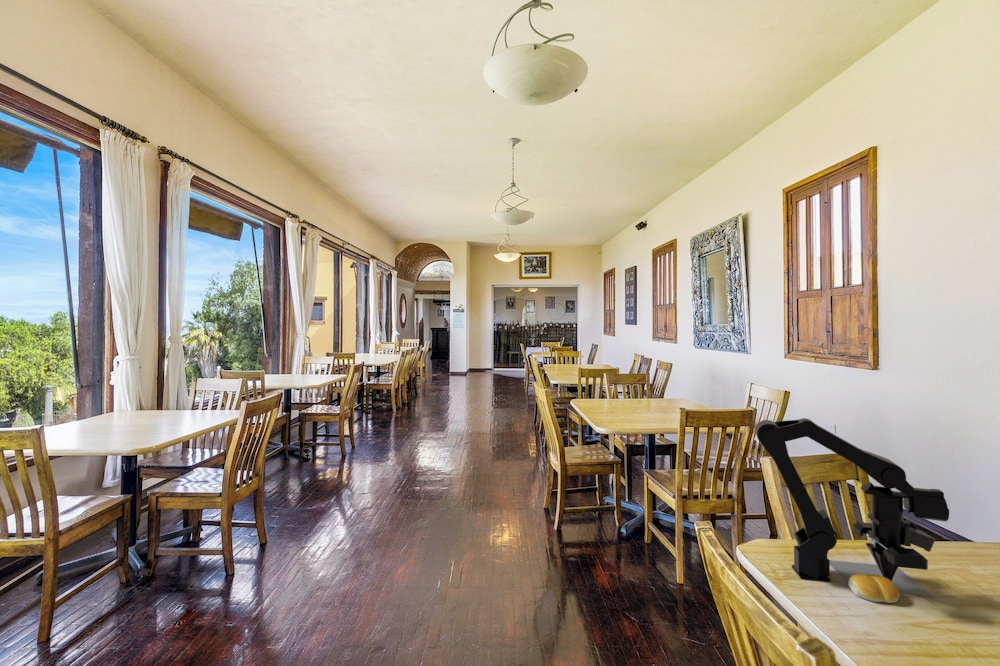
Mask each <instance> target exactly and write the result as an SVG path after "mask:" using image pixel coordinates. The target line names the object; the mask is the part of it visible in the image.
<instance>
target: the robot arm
mask: <svg viewBox="0 0 1000 666" xmlns="http://www.w3.org/2000/svg"><path fill="white" fill-rule="evenodd" d="M754 432H755V435H756V437H757V440H758V441H759V442H760V444H761V445H762V447H763V449H764V450H765V451H766V452H767V453H768V455H769V456H770V457H771V459H773V461H774V463H775V465H776V467H777V468H778V471H779V473H780V475H781V477H782V479H783V481H784V483H785V485H786V488H787V489H788V491H789V493H790V495H791V497H792V498H793V501H794V503H795V505H796V506H797V508H798V513H799V518H800V520H801V524H802V527H801V528H800V529H798V530H797V531H795V532H794V533H793V535H794V538H795V540H796V543H797V545H794V546H793V559H794V561H793V564H792V565H791V568H792V570H793V571H794V572H795V574H797V576H798V578H800V579H801V580H806V581H813V582H814V581H815V582H825V583H831V582H832V581H831V578H829V577H830V575H831V573H830V572H831V569H830V567H831V565H830V560H831V559H829V558H828V554H829V551H830V550H832V549H834V548H835V546H836V545H837V542H838V539H837V537H836V536H838V531H836V529H835V527H834V526H833V523H832V522H831V519H830V517H829V515H828V513H827V511H825V509H821V510H818V509H817V508H816V506H815V505H814V503H813V500H812V499H811V497H810V495H809V493H808V490H807V489H806V487H805V485H804V483H803V481H802V479H801V477H800V475H799V473H798V471H797V469H796V467H795V466H794V463H793V462H792V460H791V458H790V456H789V451H788V448H787V444H786V442H790V441H794V440H797V439H798V440H799V439H801V438H806V437H807V438H809V439H811V440H813V442H816V443H817V444H819V445H821V446H823V447H824V448H826V449H828V450H829V451H832V452H833V453H835V454H837V455H839V456H840V457H841V458H844V459H846V460H847V461H849V462H851V463H852V464H854V465H855V466H857V467H859V468H860V469H861V470H862V471H864V473H865V474H866V475H868V476H869V477H870V478H872V479H873V480H874V481H875V482H877V483H878V484H880V485H881V486H880V485H874V484H873V483H872V481H868V482H867V483H866V484H864V485H862V486H860V490H861V491H862V492H863V493H864V494H865V495H871V513H867V518H868V520H871V522H863V521H857V522H855V523H854V524H853V525H852V526H853V533H854V534H855V535H856V536H857V537H859V538H861V537H863V535H867V538H868V539H869V542H866V543H865V546H866V547H867V549H868V550H869V552H870V555H872V557H873V559H874V562H875V563H876V565H878V567H879V569H880V571H881V573H882V575H883V577H886V578H888V579H889V580H891V581H892V579H893V577H894V575H895V572H896V570H897V568H903V569H904V568H905V569H915V570H923V571H924V570H925V571H928V569H929V561H928V559H927V558H926V557H925V556H924V555H922V554H921V553H920V552H919V551H917V550H915V549H914V548H907V547H911V546H916V547H918V548H921V549H923V550H924V551H926V552H929V553H930V552H931V551H932V548H933V546H934V544H935V541H936V538H934V537H932V536H931V535H929V534H927V533H926V532H924V531H922V530H920V529H919V528H918V525H917V524H916V523H914V522H912V521H911V520H907V519H905V520H904V510H905V512H906V513H910V515H911V517H912V518H914V519H923V520H931V521H937V522H938V521H939V522H948V520H949V518H950V509H949V508H948V504H947V501H946V500H947V499H946V498H945V493H944V492H943V491H942V490H941V489H939V488H938V489H937V488H918V487H913V485H911V484H910V483H909V482H908V481H907V475H906V472H905V470H904V469H903V468H902V467H900V466H899V465H898V464H896V463H895V462H894V461H892V460H891V459H889V458H887V457H884V456H881V455H879V454H876V453H873V452H871V451H867V450H864V449H862V448H860V447H858V446H856V445H854V444H852V443H850V442H848V441H847V440H845V439H843V438H841V437H839V436H837V435H836V434H834V433H833V432H831V431H829V430H827V429H826V428H823V427H822V426H820V425H818V424H816V423H815V422H814V421H812V420H811V419H809V418H806V417H804V418H803V417H802V418H799V419H793V420H792V419H789V420H779V421H772V420H769V419H764V420H761V421H759V422H758V423H757V424H756V426H755V427H754ZM892 489H896V490H897V491H895V490H892Z"/></svg>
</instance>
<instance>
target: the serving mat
mask: <svg viewBox="0 0 1000 666" xmlns="http://www.w3.org/2000/svg"><path fill="white" fill-rule="evenodd" d="M829 560H830V567H831V568H833V570H834V571H835V572H836V573H837V574H838V575H839V576H840V577H841V578H842V579H843V580H844V581H846V583H847V584H848V583H849V578H850V576H851V575H853V574H856V573H857V574H863V575H869V574H873V575H879V576H883V575H882V573H881V571H880V569H879V567H878V565H877V563H876V564H875V563H874V564H873V563H863V562H853V561H851V562H850V561H842V560H833V559H832V560H831V559H829ZM892 582H893V583H894V584H895V585H896V586H897V588H898V590H899V594H903V595H904V594H906V595H913V596H914V595H915V596H922V597H933V598H934V595H933V594H931V593H930V592H929V591H928V590H927V589H925V588H924V587H923V586H922V585H920V584H919V583H918V582H916V580H914V579H913V578H912V577H910V575H908V574H907V573H906V572H904V570H902V569H900V567H898V568H897V570H896V572H895V575H894V577H893V579H892Z"/></svg>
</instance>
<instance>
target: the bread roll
mask: <svg viewBox="0 0 1000 666" xmlns="http://www.w3.org/2000/svg"><path fill="white" fill-rule="evenodd" d="M847 585H848V587H849V589H851V590H850V591H852V592H853V593H854V594H855V595H856V596H857V597H859V598H861V599H864V600H866V601H869V602H874V603H887V604H888V603H889V604H894V603H896V602H898V600H899V599H900V594H901V593H899V590H898V588H897V586H896V585H895V584H894V583H893V582H892V581H891V580H889V579H888V578H886V577H883V576H879V575H873V574H869V575H863V574H857V573H856V574H853V575H851V576H850V578H849V583H847Z"/></svg>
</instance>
